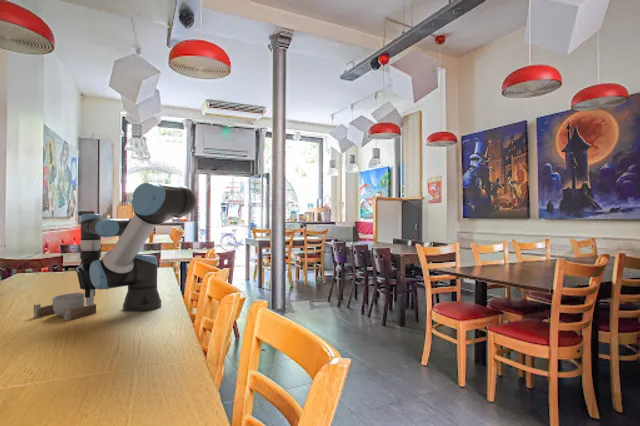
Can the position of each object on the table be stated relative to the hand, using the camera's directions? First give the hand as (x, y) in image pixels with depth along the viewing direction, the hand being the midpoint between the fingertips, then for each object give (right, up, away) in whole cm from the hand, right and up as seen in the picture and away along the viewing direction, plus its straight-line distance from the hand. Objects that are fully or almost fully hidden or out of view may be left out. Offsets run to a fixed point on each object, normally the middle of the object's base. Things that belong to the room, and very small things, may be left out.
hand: (89, 304), depth 160 cm
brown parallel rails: (-3, -2, -11) cm, 11 cm away
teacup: (-2, -2, -9) cm, 9 cm away
